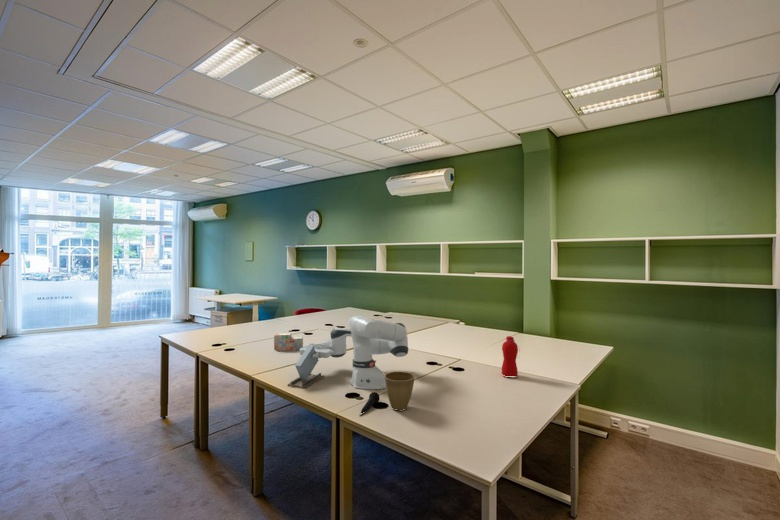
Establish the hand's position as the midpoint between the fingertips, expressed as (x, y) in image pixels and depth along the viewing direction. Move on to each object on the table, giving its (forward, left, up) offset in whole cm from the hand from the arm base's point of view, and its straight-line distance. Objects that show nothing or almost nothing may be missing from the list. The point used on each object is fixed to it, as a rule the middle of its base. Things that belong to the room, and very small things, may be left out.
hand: (308, 355), depth 219 cm
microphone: (-49, +23, -15) cm, 56 cm away
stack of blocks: (+52, -54, -15) cm, 77 cm away
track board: (0, +3, -15) cm, 15 cm away
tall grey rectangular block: (0, -2, -9) cm, 9 cm away
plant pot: (-63, +18, -15) cm, 68 cm away
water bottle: (-114, -52, -15) cm, 127 cm away
